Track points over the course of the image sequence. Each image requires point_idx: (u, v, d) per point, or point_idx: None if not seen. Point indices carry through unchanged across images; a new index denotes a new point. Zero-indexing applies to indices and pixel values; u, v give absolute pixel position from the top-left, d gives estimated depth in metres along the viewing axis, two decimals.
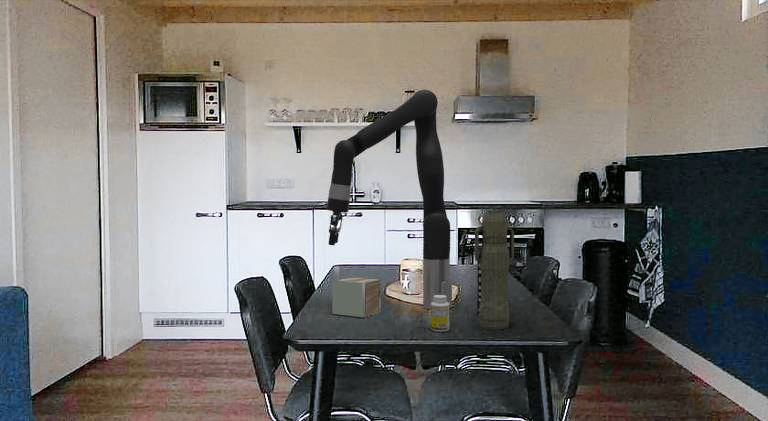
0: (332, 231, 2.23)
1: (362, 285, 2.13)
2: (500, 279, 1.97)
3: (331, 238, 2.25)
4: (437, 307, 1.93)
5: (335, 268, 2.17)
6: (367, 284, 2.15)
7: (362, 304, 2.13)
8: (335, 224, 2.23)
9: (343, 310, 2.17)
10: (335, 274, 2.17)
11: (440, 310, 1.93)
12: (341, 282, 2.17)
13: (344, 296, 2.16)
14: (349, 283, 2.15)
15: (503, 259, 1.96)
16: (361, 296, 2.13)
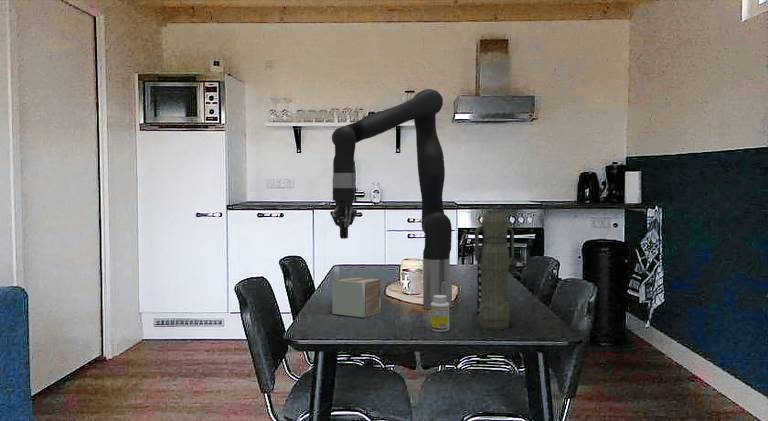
0: (338, 224, 2.19)
1: (362, 285, 2.13)
2: (500, 279, 1.97)
3: (341, 231, 2.20)
4: (437, 307, 1.93)
5: (335, 268, 2.17)
6: (367, 284, 2.15)
7: (362, 304, 2.13)
8: (337, 219, 2.17)
9: (343, 310, 2.17)
10: (335, 274, 2.17)
11: (440, 310, 1.93)
12: (341, 282, 2.17)
13: (344, 296, 2.16)
14: (349, 283, 2.15)
15: (503, 259, 1.96)
16: (361, 296, 2.13)
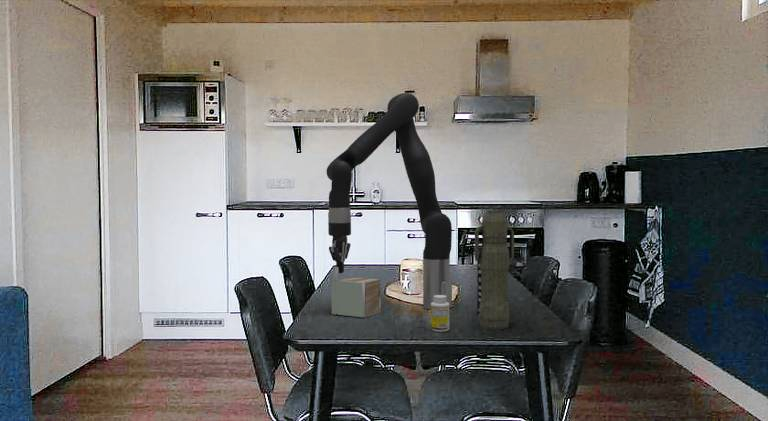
0: (336, 259, 2.17)
1: (362, 285, 2.13)
2: (500, 279, 1.97)
3: (337, 266, 2.19)
4: (437, 307, 1.93)
5: (334, 268, 2.17)
6: (367, 284, 2.15)
7: (362, 304, 2.13)
8: (336, 255, 2.16)
9: (343, 310, 2.17)
10: (334, 274, 2.17)
11: (440, 310, 1.93)
12: (340, 282, 2.16)
13: (344, 296, 2.16)
14: (349, 283, 2.15)
15: (503, 259, 1.96)
16: (361, 296, 2.13)
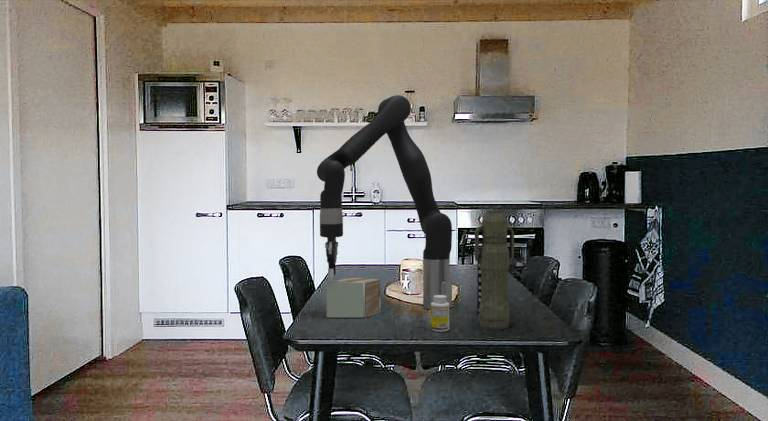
0: (331, 261, 2.13)
1: (363, 285, 2.13)
2: (500, 279, 1.97)
3: (331, 268, 2.15)
4: (437, 307, 1.93)
5: (331, 270, 2.12)
6: (367, 284, 2.15)
7: (363, 304, 2.13)
8: (332, 257, 2.11)
9: (340, 312, 2.13)
10: (331, 276, 2.12)
11: (440, 310, 1.93)
12: (337, 284, 2.13)
13: (341, 298, 2.13)
14: (347, 284, 2.13)
15: (503, 259, 1.96)
16: (361, 296, 2.13)
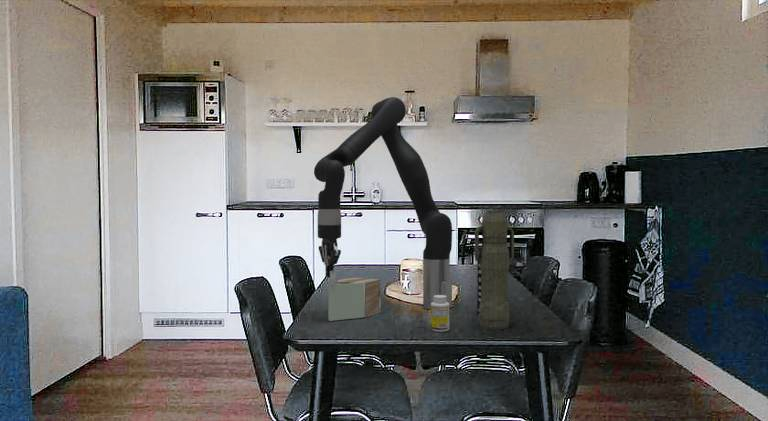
0: (333, 263, 2.08)
1: (363, 285, 2.13)
2: (500, 279, 1.97)
3: (330, 270, 2.10)
4: (437, 307, 1.93)
5: (334, 272, 2.08)
6: (367, 284, 2.15)
7: (363, 304, 2.13)
8: (337, 258, 2.07)
9: (342, 314, 2.10)
10: (334, 278, 2.08)
11: (440, 310, 1.93)
12: (340, 286, 2.09)
13: (343, 300, 2.10)
14: (349, 285, 2.10)
15: (503, 259, 1.96)
16: (362, 296, 2.13)
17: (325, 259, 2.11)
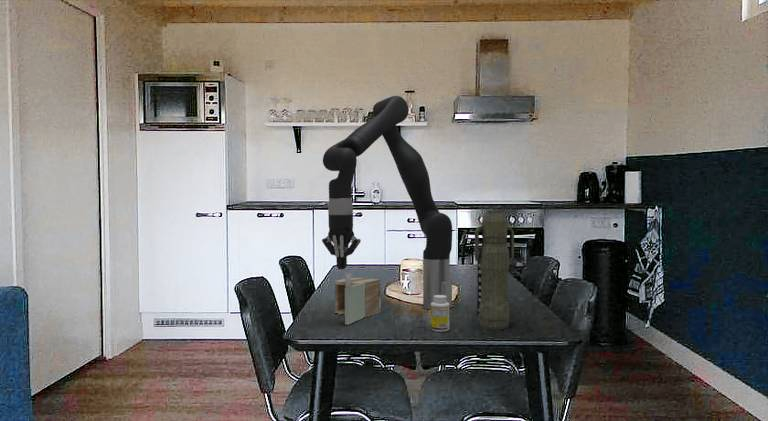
0: (350, 253, 2.02)
1: (364, 285, 2.13)
2: (500, 279, 1.97)
3: (345, 261, 2.03)
4: (437, 307, 1.93)
5: (350, 274, 2.03)
6: (367, 284, 2.15)
7: (364, 304, 2.13)
8: (355, 248, 2.02)
9: (354, 317, 2.06)
10: (350, 281, 2.03)
11: (440, 310, 1.93)
12: (353, 288, 2.05)
13: (355, 302, 2.07)
14: (357, 286, 2.08)
15: (503, 259, 1.96)
16: (364, 296, 2.13)
17: (338, 251, 2.03)
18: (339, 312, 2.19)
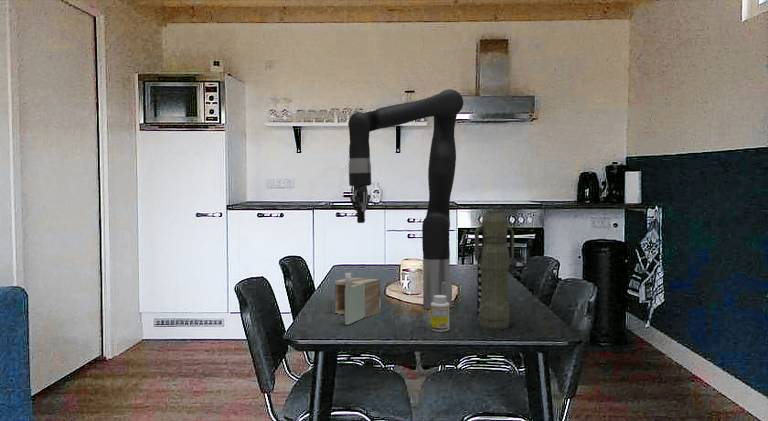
0: (357, 208, 2.22)
1: (364, 285, 2.13)
2: (500, 279, 1.97)
3: (358, 216, 2.24)
4: (437, 307, 1.93)
5: (350, 274, 2.03)
6: (367, 284, 2.15)
7: (364, 304, 2.13)
8: (357, 204, 2.20)
9: (354, 317, 2.06)
10: (350, 281, 2.03)
11: (440, 310, 1.93)
12: (353, 288, 2.05)
13: (355, 302, 2.07)
14: (357, 286, 2.08)
15: (503, 259, 1.96)
16: (364, 296, 2.13)
17: None
18: (339, 312, 2.19)
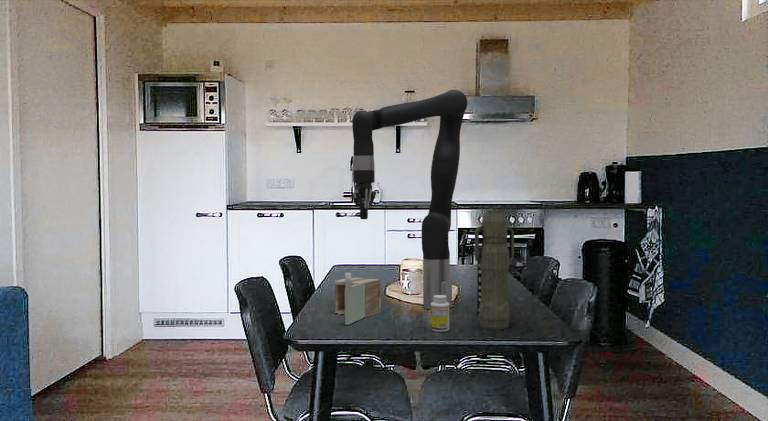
0: (359, 205, 2.26)
1: (364, 285, 2.13)
2: (500, 279, 1.97)
3: (361, 212, 2.28)
4: (437, 307, 1.93)
5: (350, 274, 2.03)
6: (367, 284, 2.15)
7: (364, 304, 2.13)
8: (358, 200, 2.25)
9: (354, 317, 2.06)
10: (350, 281, 2.03)
11: (440, 310, 1.93)
12: (353, 288, 2.05)
13: (355, 302, 2.07)
14: (357, 286, 2.08)
15: (503, 259, 1.96)
16: (364, 296, 2.13)
17: None
18: (339, 312, 2.19)
